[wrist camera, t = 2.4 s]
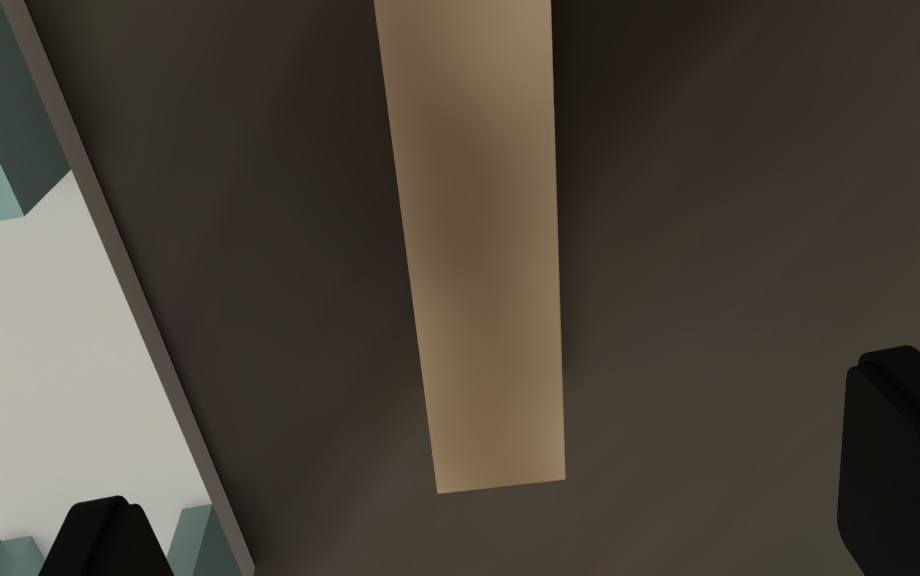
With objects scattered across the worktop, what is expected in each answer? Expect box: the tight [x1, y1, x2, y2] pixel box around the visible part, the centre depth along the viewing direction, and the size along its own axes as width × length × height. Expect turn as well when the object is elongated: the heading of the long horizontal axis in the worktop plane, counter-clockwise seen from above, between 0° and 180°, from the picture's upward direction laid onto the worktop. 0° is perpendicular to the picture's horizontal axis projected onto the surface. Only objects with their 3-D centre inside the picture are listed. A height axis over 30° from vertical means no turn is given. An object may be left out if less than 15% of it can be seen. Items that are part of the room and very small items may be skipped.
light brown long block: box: [374, 0, 565, 494], centre depth 21 cm, size 4×16×5 cm, turn 5°
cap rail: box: [0, 0, 255, 576], centre depth 23 cm, size 7×20×5 cm, turn 10°
